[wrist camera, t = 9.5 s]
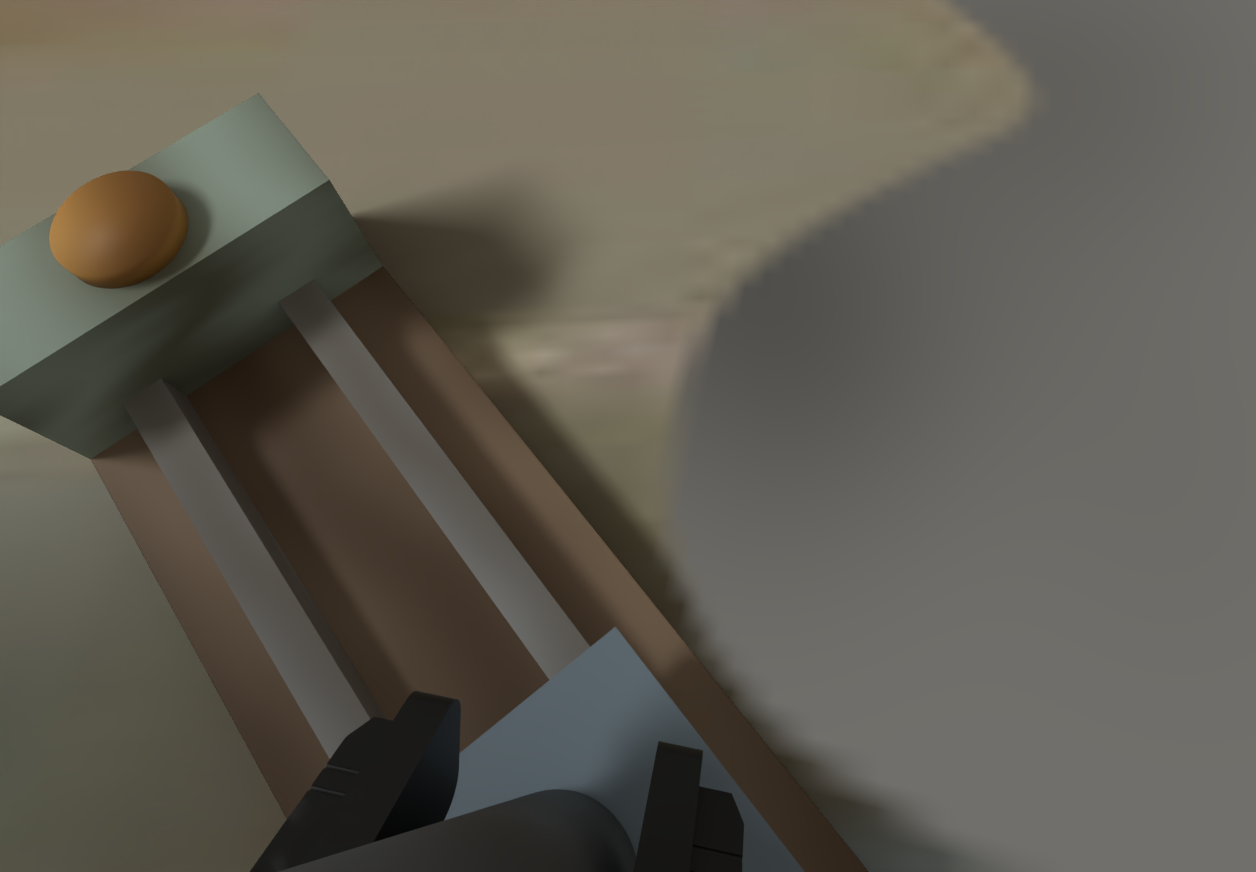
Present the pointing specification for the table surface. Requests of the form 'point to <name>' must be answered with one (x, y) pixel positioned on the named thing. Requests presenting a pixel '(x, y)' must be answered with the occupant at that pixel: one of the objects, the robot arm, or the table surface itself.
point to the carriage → (564, 782)
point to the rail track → (322, 467)
